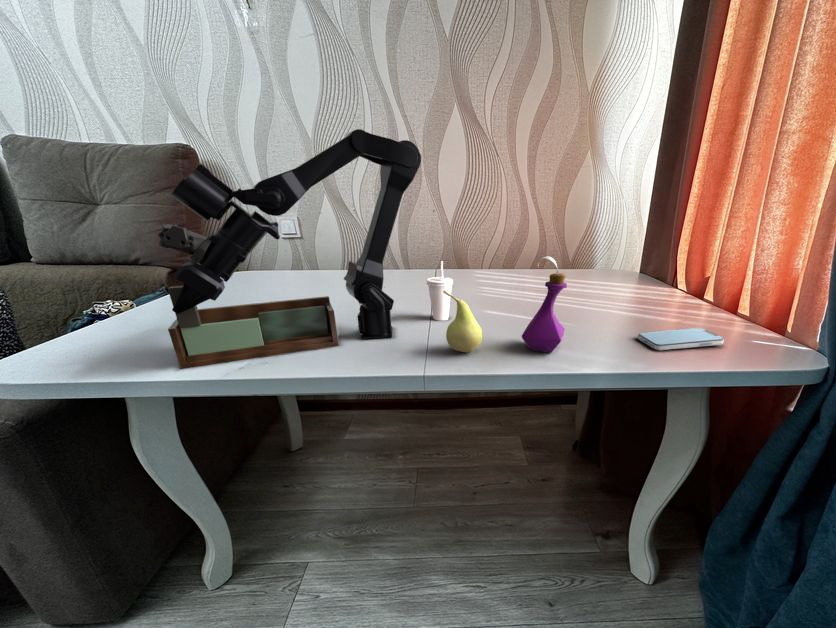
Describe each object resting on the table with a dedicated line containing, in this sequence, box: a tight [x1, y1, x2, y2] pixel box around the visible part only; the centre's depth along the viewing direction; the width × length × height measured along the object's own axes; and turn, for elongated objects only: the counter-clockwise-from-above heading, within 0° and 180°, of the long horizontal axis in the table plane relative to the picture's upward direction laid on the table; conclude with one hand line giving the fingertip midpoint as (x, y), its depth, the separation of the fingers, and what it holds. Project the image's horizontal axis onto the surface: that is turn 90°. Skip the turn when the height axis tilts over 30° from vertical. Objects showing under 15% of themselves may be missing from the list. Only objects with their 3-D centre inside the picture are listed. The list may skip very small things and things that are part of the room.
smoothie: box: [425, 260, 454, 321], centre depth 91 cm, size 6×6×14 cm
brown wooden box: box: [167, 295, 340, 370], centre depth 73 cm, size 27×8×8 cm, turn 115°
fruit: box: [443, 290, 483, 353], centre depth 72 cm, size 7×8×12 cm
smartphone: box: [637, 327, 725, 351], centre depth 78 cm, size 8×2×15 cm
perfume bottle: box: [521, 255, 568, 354], centre depth 72 cm, size 8×8×18 cm
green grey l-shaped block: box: [167, 285, 264, 356], centre depth 68 cm, size 12×2×13 cm, turn 115°
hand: (176, 310), depth 65 cm, fingers closed on green grey l-shaped block, 2 cm apart
